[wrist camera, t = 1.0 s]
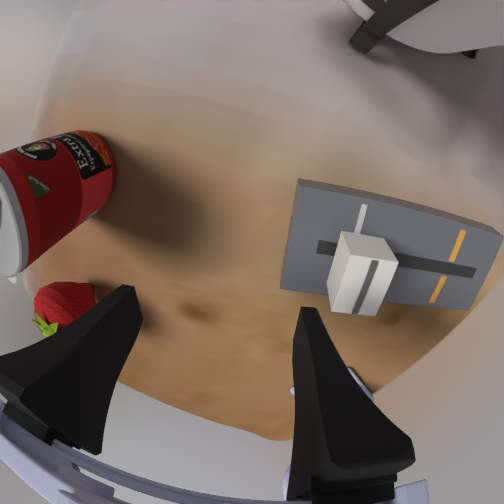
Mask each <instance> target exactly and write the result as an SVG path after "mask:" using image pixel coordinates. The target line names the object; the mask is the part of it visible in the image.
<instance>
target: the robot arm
mask: <svg viewBox="0 0 504 504" xmlns="http://www.w3.org/2000/svg"><path fill="white" fill-rule="evenodd" d="M142 321H143V316H142V313H141V310H140V306H139V302H138V299H137V295H136V291H135V287H134V286H130V285H124V284H123V285H121V286H120V287H118V288H117V289H116V290H114V291H113V292H112V293H110V294H109V295H108V296H106V297H105V298H104V299H102V300H101V301H100V302H99V303H97V304H96V305H95V306H93V307H92V308H91V309H90V310H88V311H87V312H86V313H84V314H83V315H81V316H80V317H79V318H77V319H76V320H74V321H73V322H72V323H70V324H69V325H67V326H66V327H64V328H63V329H61V330H59V331H58V332H56V333H54V334H52V335H51V336H49V337H47V338H45V339H43V340H41V341H39V342H37V343H35V344H33V345H31V346H28V347H26V348H23V349H21V350H18V351H15V352H12V353H9V354H5V355H2V356H0V393H1V394H2V395H3V396H4V397H5V398H6V399H7V400H8V402H7V403H6V404H5V403H4V402H2V401H1V400H0V457H1V459H2V460H3V461H4V462H5V463H6V464H7V465H8V466H9V467H10V468H11V469H12V470H13V471H14V472H15V473H16V474H17V475H19V476H20V477H21V478H22V479H23V480H24V481H25V482H26V483H27V484H29V485H30V486H31V487H32V488H33V489H34V490H35V491H37V492H38V493H39V494H40V495H41V496H43V497H44V498H45V499H47V500H48V501H49V502H50V503H52V504H131V503H128V502H125V501H123V500H120V499H117V498H115V497H113V494H114V491H115V489H114V488H113V487H110V486H108V485H106V484H103V483H101V482H99V481H97V480H94V479H92V478H90V477H88V476H86V475H84V474H82V473H81V472H80V469H79V467H81V468H83V469H86V470H87V471H89V472H92V473H94V474H96V475H98V476H100V477H102V478H105V479H107V480H109V481H112V482H114V483H117V484H119V485H122V486H125V487H127V488H130V489H133V490H135V491H138V492H141V493H145V494H147V495H151V496H154V497H157V498H161V499H164V500H168V501H172V502H176V503H180V504H429V497H428V487H427V480H426V479H424V480H420V481H417V482H414V483H410V484H406V485H403V486H399V487H396V488H394V482H396V481H397V473H398V472H400V471H402V470H404V469H405V468H407V467H409V466H411V465H412V464H413V463H414V462H415V453H414V448H413V444H412V440H411V438H410V437H409V436H408V435H406V434H405V433H403V431H402V430H400V429H399V428H398V427H397V426H396V425H394V424H393V423H392V422H391V421H390V420H389V419H388V418H387V417H386V416H385V415H384V414H383V413H382V412H381V411H380V409H379V408H378V407H377V406H376V405H375V404H374V403H373V402H372V401H373V400H374V398H373V396H372V394H371V393H370V392H369V391H368V389H367V388H366V387H365V386H364V384H363V383H362V382H361V381H360V379H359V378H358V377H357V376H356V374H355V373H354V372H353V371H352V369H350V368H347V367H346V365H345V363H344V362H343V360H342V358H341V357H340V355H339V353H338V352H337V350H336V348H335V346H334V344H333V342H332V340H331V338H330V336H329V334H328V332H327V330H326V328H325V326H324V324H323V322H322V319H321V317H320V315H319V312H318V310H317V309H316V308H313V307H301V309H300V313H299V318H298V322H297V326H296V330H295V334H294V338H293V357H292V363H293V379H294V387H293V388H291V389H290V392H291V393H292V394H293V395H295V424H294V438H293V450H292V459H291V464H290V466H289V467H288V468H287V470H286V472H285V475H284V479H283V494H284V498H285V501H263V500H249V499H239V498H230V497H223V496H216V495H210V494H205V493H199V492H194V491H190V490H185V489H181V488H177V487H172V486H169V485H165V484H161V483H158V482H154V481H151V480H148V479H145V478H142V477H139V476H136V475H133V474H130V473H127V472H125V471H122V470H119V469H117V468H114V467H112V466H109V465H107V464H104V463H102V462H100V461H97V460H95V459H93V458H91V457H89V456H86V455H84V454H82V453H80V452H78V451H76V450H74V449H72V447H75V448H77V449H83V450H85V451H87V452H89V453H91V454H93V455H98V454H100V453H101V451H102V442H103V434H104V428H105V423H106V417H107V413H108V409H109V405H110V401H111V397H112V394H113V391H114V388H115V384H116V382H117V379H118V377H119V374H120V372H121V370H122V368H123V366H124V364H125V361H126V359H127V357H128V355H129V353H130V351H131V349H132V347H133V345H134V343H135V341H136V338H137V336H138V333H139V330H140V327H141V324H142ZM78 466H79V467H78Z"/></svg>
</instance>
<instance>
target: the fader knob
mask: <svg viewBox="0 0 504 504" xmlns="http://www.w3.org/2000/svg"><path fill="white" fill-rule="evenodd" d="M398 263H399V262H398V261H397V259H396V257H395V256H394V254H393V252H392V251H391V249H390V247H389V246H388V244H387V243H386V241H385V239H384V238H379V237H374V236H368V235H363V234H357V233H352V232H346V231H341V234H340V238H339V241H338V245H337V249H336V252H335V256H334V259H333V263H332V266H331V270H330V273H329V276H328V280H327V288H328V294H329V300H330V307H331V312H340V313H349V314H358V315H368V316H376V314H377V312H378V309H379V307H380V305H381V303H382V301H383V299H384V296H385V294H386V292H387V289H388V287H389V285H390V282H391V280H392V278H393V275H394V273H395V270H396V268H397V265H398Z"/></svg>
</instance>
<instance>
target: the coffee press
mask: <svg viewBox="0 0 504 504" xmlns="http://www.w3.org/2000/svg"><path fill="white" fill-rule="evenodd" d="M343 1H344V2H345V3H346V4H347V5H348V6H349V7H350V8H351V9H352V10H353V11H354V12H355V13H357V14H358V15H359V16H360V17H361V18H362V19H364V20H365V21H364V22H363V23H362V25H361V26H360V27H359V29H358V30H357V31H356V33H355V34H354V35H353V37H352V38H351V39H350V41H349V44H351V45H352V46H354V47H355V48H357V49H358V50H360V51H361V52H363V53H364V54H367V53H368V52H369V50H370V49H371V48H372V47H373V46H374V45H375V44H376V43H377V42H378V41H379V40H380V39H381V38H382V37H383V36H384V35H385V34H386V35H388V36H389V37H391V38H393V39H395V40H397V41H399V42H401V43H403V44H406V45H408V46H411V47H414V48H416V49H420V50H423V51H428V52H433V53H456V52H462V53H463V54H464V55H466V56H467V57H469V58H472V59H474V58H475V57H476V55H477V53H478V51H479V49H480V48H487V47H495V46H503V45H504V0H343Z"/></svg>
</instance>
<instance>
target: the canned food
mask: <svg viewBox="0 0 504 504" xmlns="http://www.w3.org/2000/svg"><path fill="white" fill-rule="evenodd" d="M114 181H115V166H114V160H113V157H112V154H111V151H110V150H109V148H108V146H107V144H106V143H105V142H104V141H103V140H102V139H101V138H100V137H99V136H97V135H96V134H93V133H91V132H87V131H81V130H78V131H72V132H68V133H64V134H60V135H56V136H53V137H49V138H46V139H42V140H39V141H36V142H32V143H29V144H26V145H23V146H20V147H17V148H15V149H12V150H9V151H6V152H3V153H1V154H0V273H1V274H2V275H4V276H6V277H14V276H16V275H17V274H18V273H20V272H22V271H23V270H24V269H26V268H27V267H28V266H29V265H30V264H32V263H33V262H34V261H35V260H36V259H38V258H39V257H40V256H41V255H42V254H43V253H45V252H46V251H47V250H48V249H49V248H51V247H52V246H53V245H54V244H56V243H57V242H58V241H59V240H61V239H62V238H63V237H65V236H66V235H67V234H68V233H70V232H71V231H72V230H74V229H75V228H76V227H78V226H79V225H80V224H82V223H83V222H84V221H86V220H87V219H89V218H90V217H91V216H93V215H94V214H96V213H97V212H98V211H99V210H100V209H102V207H103V206H104V205H105V203H106V202H107V200H108V199H109V197H110V195H111V193H112V190H113V187H114Z"/></svg>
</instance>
